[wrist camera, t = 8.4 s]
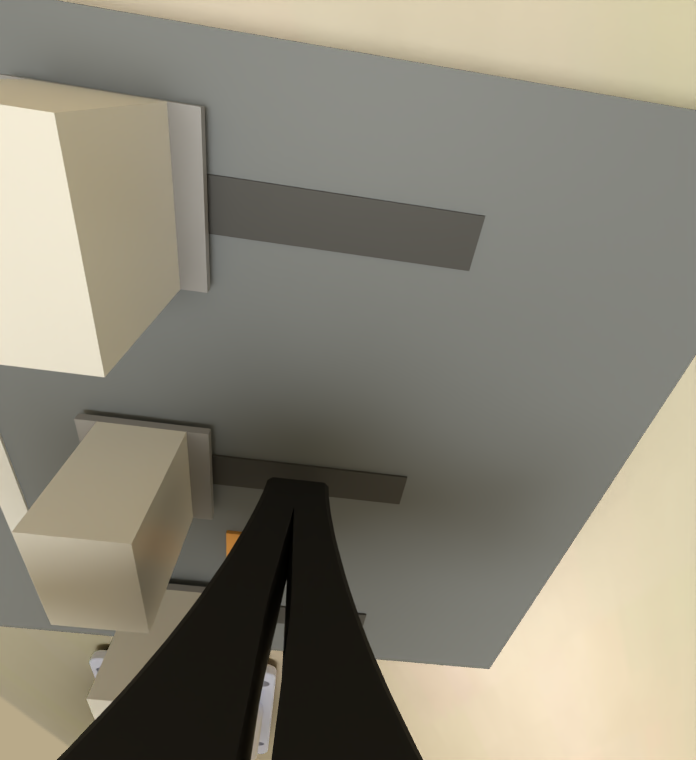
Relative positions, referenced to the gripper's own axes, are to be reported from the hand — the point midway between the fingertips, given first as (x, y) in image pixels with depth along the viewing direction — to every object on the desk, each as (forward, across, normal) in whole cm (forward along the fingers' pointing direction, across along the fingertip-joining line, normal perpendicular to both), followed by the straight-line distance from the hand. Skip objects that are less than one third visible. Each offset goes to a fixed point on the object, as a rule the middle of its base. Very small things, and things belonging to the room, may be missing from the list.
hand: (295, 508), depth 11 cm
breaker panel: (+2, +1, 0) cm, 3 cm away
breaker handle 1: (+1, +4, -6) cm, 7 cm away
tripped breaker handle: (+1, +4, 0) cm, 4 cm away
